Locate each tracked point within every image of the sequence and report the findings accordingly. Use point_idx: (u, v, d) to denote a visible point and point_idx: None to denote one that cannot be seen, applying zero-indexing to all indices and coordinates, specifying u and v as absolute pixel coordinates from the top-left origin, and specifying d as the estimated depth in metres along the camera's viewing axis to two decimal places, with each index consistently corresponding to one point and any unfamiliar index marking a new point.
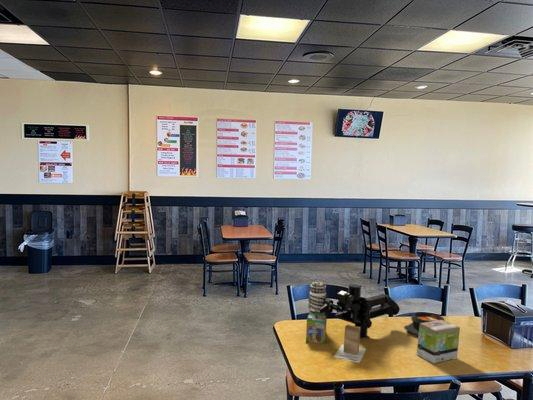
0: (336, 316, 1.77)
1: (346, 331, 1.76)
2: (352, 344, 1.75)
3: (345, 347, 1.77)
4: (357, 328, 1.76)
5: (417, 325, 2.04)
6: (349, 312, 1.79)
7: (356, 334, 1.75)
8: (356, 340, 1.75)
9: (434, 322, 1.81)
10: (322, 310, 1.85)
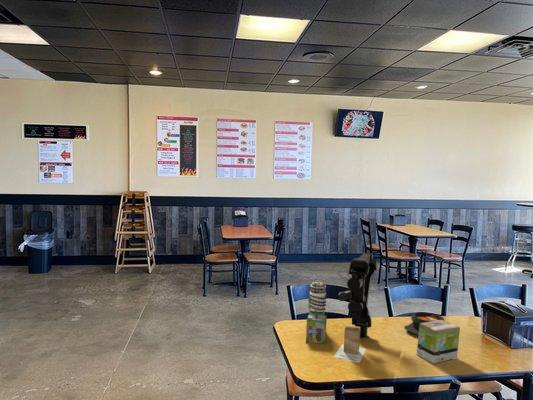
0: (354, 322, 1.78)
1: (346, 331, 1.76)
2: (352, 344, 1.75)
3: (345, 347, 1.77)
4: (357, 328, 1.76)
5: (417, 325, 2.04)
6: None
7: (356, 334, 1.75)
8: (356, 340, 1.75)
9: (434, 322, 1.81)
10: None
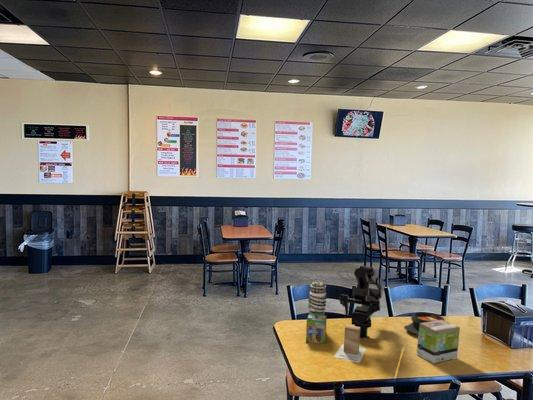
0: (367, 319, 1.82)
1: (346, 331, 1.76)
2: (352, 344, 1.75)
3: (345, 347, 1.77)
4: (357, 328, 1.76)
5: (417, 325, 2.04)
6: (374, 307, 1.84)
7: (356, 334, 1.75)
8: (356, 340, 1.75)
9: (434, 322, 1.81)
10: (347, 314, 1.87)
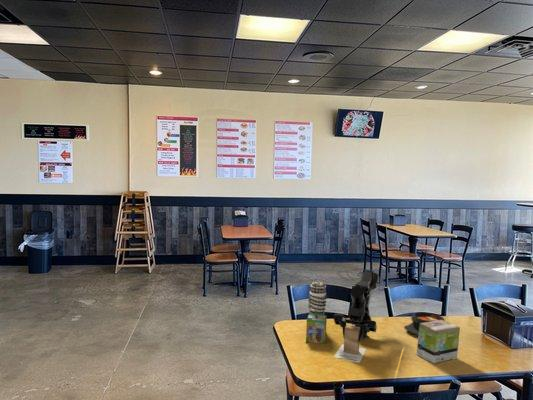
0: (359, 340, 1.75)
1: (346, 331, 1.76)
2: (352, 344, 1.75)
3: (345, 347, 1.77)
4: (357, 328, 1.76)
5: (417, 325, 2.04)
6: (366, 328, 1.77)
7: (356, 334, 1.74)
8: (356, 340, 1.75)
9: (434, 322, 1.81)
10: None
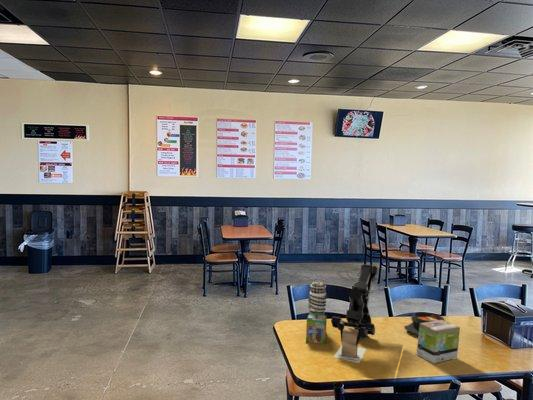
0: (357, 344, 1.71)
1: (344, 334, 1.73)
2: (350, 347, 1.72)
3: (343, 350, 1.73)
4: (355, 331, 1.72)
5: (417, 325, 2.04)
6: (365, 331, 1.73)
7: (354, 337, 1.71)
8: (354, 343, 1.71)
9: (434, 322, 1.81)
10: None
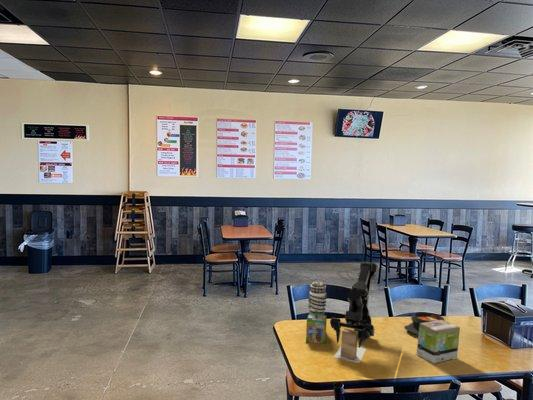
0: (360, 346, 1.69)
1: (343, 335, 1.72)
2: (349, 349, 1.71)
3: (342, 351, 1.72)
4: (355, 332, 1.71)
5: (417, 325, 2.04)
6: (367, 333, 1.71)
7: (353, 338, 1.70)
8: (353, 344, 1.70)
9: (434, 322, 1.81)
10: (338, 339, 1.74)
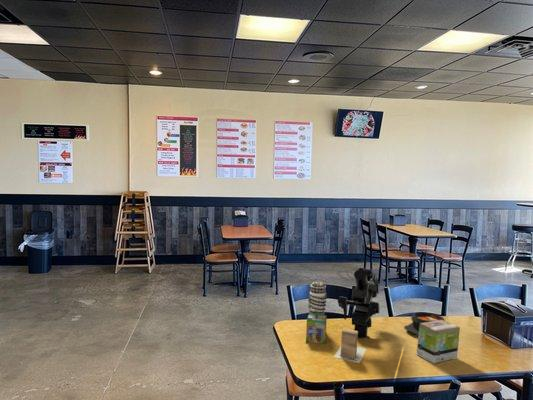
0: (366, 322, 1.80)
1: (343, 335, 1.71)
2: (349, 349, 1.71)
3: (342, 352, 1.72)
4: (354, 332, 1.71)
5: (417, 325, 2.04)
6: (373, 310, 1.81)
7: (353, 338, 1.70)
8: (353, 344, 1.70)
9: (434, 322, 1.81)
10: None
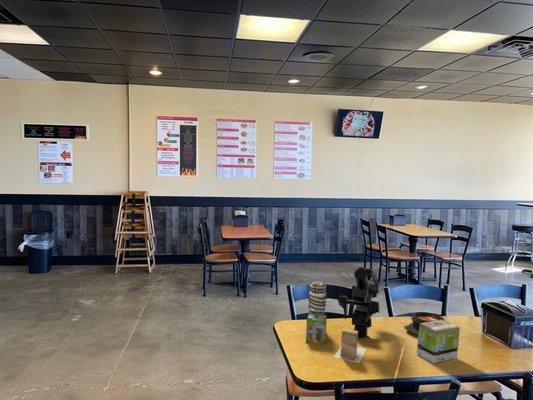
0: (366, 321, 1.80)
1: (343, 335, 1.71)
2: (349, 349, 1.71)
3: (342, 352, 1.72)
4: (354, 332, 1.71)
5: (417, 325, 2.04)
6: (373, 309, 1.82)
7: (353, 338, 1.70)
8: (353, 344, 1.70)
9: (434, 322, 1.81)
10: (346, 315, 1.84)
